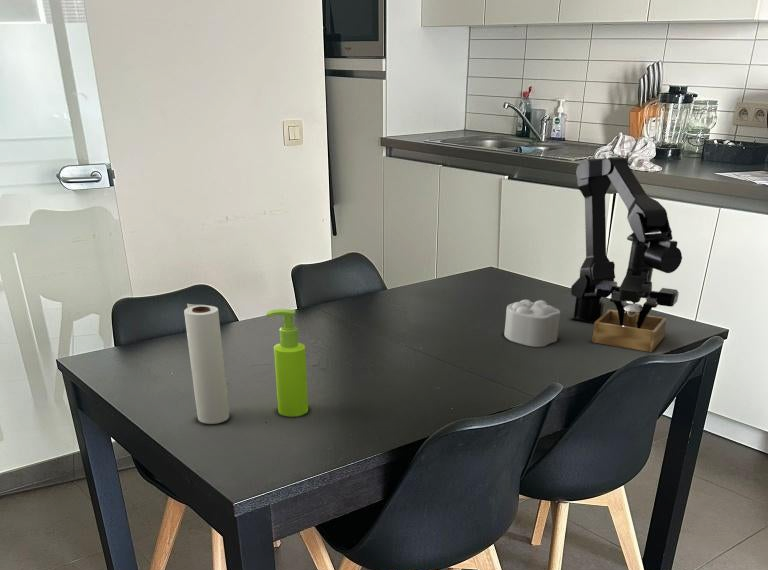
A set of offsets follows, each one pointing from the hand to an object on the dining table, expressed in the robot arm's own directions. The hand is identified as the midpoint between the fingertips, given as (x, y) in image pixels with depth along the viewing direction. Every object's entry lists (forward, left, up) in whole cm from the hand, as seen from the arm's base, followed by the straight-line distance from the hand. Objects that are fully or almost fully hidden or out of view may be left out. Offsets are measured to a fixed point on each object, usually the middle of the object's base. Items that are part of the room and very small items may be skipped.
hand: (630, 328), depth 190 cm
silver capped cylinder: (0, 0, -3) cm, 3 cm away
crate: (0, 0, -3) cm, 3 cm away
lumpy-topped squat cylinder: (-22, -11, -3) cm, 25 cm away
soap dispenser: (-47, -78, -3) cm, 91 cm away
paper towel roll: (-58, -88, -3) cm, 105 cm away
